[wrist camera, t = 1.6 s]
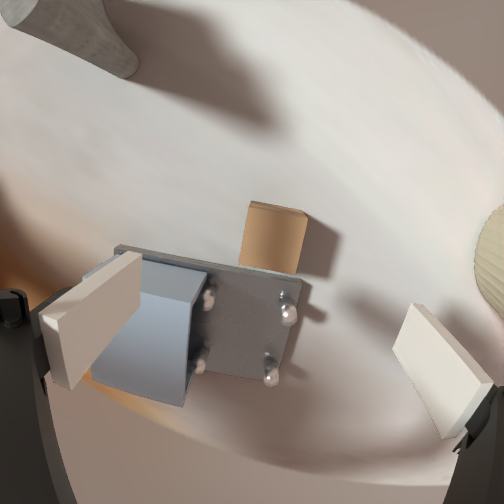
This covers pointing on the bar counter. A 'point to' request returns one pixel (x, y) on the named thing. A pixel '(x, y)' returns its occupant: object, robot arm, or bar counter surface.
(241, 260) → the light brown cube
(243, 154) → the bar counter surface
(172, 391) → the housing cover
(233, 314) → the housing base
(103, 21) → the hip flask
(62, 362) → the robot arm
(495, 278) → the canister
